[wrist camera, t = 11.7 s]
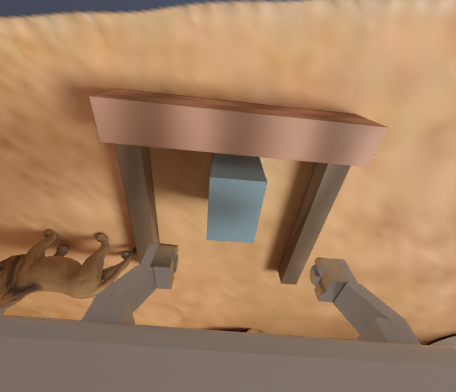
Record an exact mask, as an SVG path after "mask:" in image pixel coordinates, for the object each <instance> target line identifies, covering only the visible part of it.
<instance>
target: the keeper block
mask: <svg viewBox="0 0 456 392" xmlns="http://www.w3.org/2000/svg"><path fill="white" fill-rule="evenodd" d="M266 185H267V180H266V177H265V174H264V171H263V168H262V164H261V161H260V158H259V157H255V156H244V155H233V154H222V153H213V159H212V166H211V172H210V182H209V201H208V220H207V239H206V240H216V241H230V242H245V243H253V242H254V238H255V233H256V229H257V224H258V220H259V216H260V211H261V207H262V202H263V198H264V194H265V189H266Z"/></svg>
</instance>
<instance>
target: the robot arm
mask: <svg viewBox="0 0 456 392" xmlns="http://www.w3.org/2000/svg"><path fill="white" fill-rule="evenodd" d="M177 252H178V245H171V244H162V243H152V242H151V243H150V244H149V246H148V248H147V250H146V253H145V255H144V257H143V259H142V261H141V264H140V266H135V267H134V268H133V269H131V270H130V271H129V272H127V273H126V274H124V275H123V276H122V277H120V278H119V279H118V280H116V281H115V282H114V283H112V284H111V285H109V286H108V287H107V288H105V289H104V290H103V291H101V292H100V293H98V294H97V295H96V297H95V298H94V300H93V302H92V304H91V305H90V307H89V309H88V310H87V312H86V314H85V315H84V317H83V319H82V321H79V320H65V319H52V318H38V317H24V316H11V315H0V392H456V336H453V337H450V338H446V339H443V340H440V341H438V342H435V343H433V344H431V345H421V343H420V342H419V340H418V339H417V337H416V336H415V334H414V333H413V331H412V330H411V328H410V327H409V325H408V324H407V322H406V321H405V319H404V318H402V317H401V316H400V315H399V314H397V313H396V312H395V311H394V310H392V309H391V308H390V307H389V306H387V305H386V304H385V303H384V302H382V301H381V300H380V299H379V298H377V297H376V296H375V295H374V294H372V293H371V292H370V291H369V290H367V289H366V288H365V287H364V286H362V285H361V284H358V283H357V281H356V279H355V277H354V276H353V274H352V272H351V270H350V269H349V267H348V265H347V263H346V262H345V261H344V260H343V259H332V258H319V257H318V258H316V259H315V261H314V262H315V265H314V266H312V267H311V270H310V279H311V282H312V283H313V284H314V285H315V286H316V287H315V293H316V296H317V298H318V301H325V302H333V304H334V305H335V306H336V307H337V308H338V310H339V311H340V312H341V313H342V314H343V315H344V316H345V318H346V319H347V320H348V321H349V322H350V323H351V324H352V325H353V327H354V328H355V329H356V330H357V331H358V332H359V333H360V335H359V336H358V337H357V338H356V339H355V340H346V339H332V338H318V337H304V336H290V335H276V334H261V333H247V332H233V331H219V330H205V329H191V328H177V327H163V326H149V325H135V321H134V317H133V312H134V311H135V310H136V309H137V308H138V307H139V306H140V305H141V304H142V303H143V302H144V301H145V300H146V299H147V298H148V297H149V296H150V295H151V294H152V293H153V292H154V291H155V289H156V288H159V289H171V288H172V285H173V281H174V273H175V272H176V270H177V265H178V254H177Z"/></svg>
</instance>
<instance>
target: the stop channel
mask: <svg viewBox="0 0 456 392" xmlns="http://www.w3.org/2000/svg"><path fill="white" fill-rule="evenodd" d="M89 98H90V102H91V106H92V110H93V114H94V119H95V123H96V127H97V131H98V135H99V139H100V142H105V143H115V146H116V151H117V156H118V161H119V166H120V170H121V175H122V180H123V185H124V190H125V195H126V200H127V205H128V210H129V215H130V220H131V225H132V230H133V235H134V240H135V244H136V249H137V254H138V259H139V264H141V261H142V259H143V257H144V255H145V253H146V250H147V248H148V246H149V244H150V243H151V242H152V243H160V242H159V233H158V224H157V215H156V207H155V198H154V189H153V180H152V171H151V162H150V153H149V147H158V148H169V149H180V150H190V151H201V152H212V153H222V154H233V155H244V156H255V157H265V158H276V159H287V160H297V161H308V162H317V164H316V167H315V170H314V172H313V175H312V178H311V181H310V183H309V186H308V189H307V192H306V195H305V197H304V200H303V203H302V206H301V208H300V211H299V214H298V217H297V220H296V222H295V225H294V228H293V231H292V233H291V236H290V239H289V242H288V244H287V247H286V250H285V253H284V256H283V258H282V261H281V264H280V267H279V269H278V272H279V277H280V281H281V284H296V283H297V281H298V279H299V277H300V275H301V273H302V270H303V268H304V266H305V264H306V262H307V259H308V257H309V255H310V253H311V251H312V249H313V246H314V244H315V242H316V240H317V238H318V236H319V233H320V231H321V229H322V227H323V225H324V223H325V220H326V218H327V216H328V214H329V212H330V210H331V207H332V205H333V203H334V201H335V199H336V196H337V194H338V192H339V190H340V188H341V186H342V183H343V181H344V179H345V177H346V175H347V173H348V170H349V168H350V166H362V167H368V166H369V164H370V162H371V160H372V158H373V156H374V154H375V152H376V151H377V149H378V147H379V145H380V143H381V141H382V139H383V137H384V135H385V133H386V131H387V129H388V127H386V126H383V125H381V124H378V123H376V122H374V121H371V120H369V119H367V118H364V117H362V116H360V115H355V114H346V113H336V112H327V111H318V110H309V109H299V108H290V107H281V106H272V105H262V104H253V103H244V102H234V101H225V100H216V99H207V98H197V97H188V96H179V95H169V94H160V93H151V92H142V91H132V90H123V89H115V90H111V91H107V92H103V93H99V94H96V95H92V96H89Z"/></svg>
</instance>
